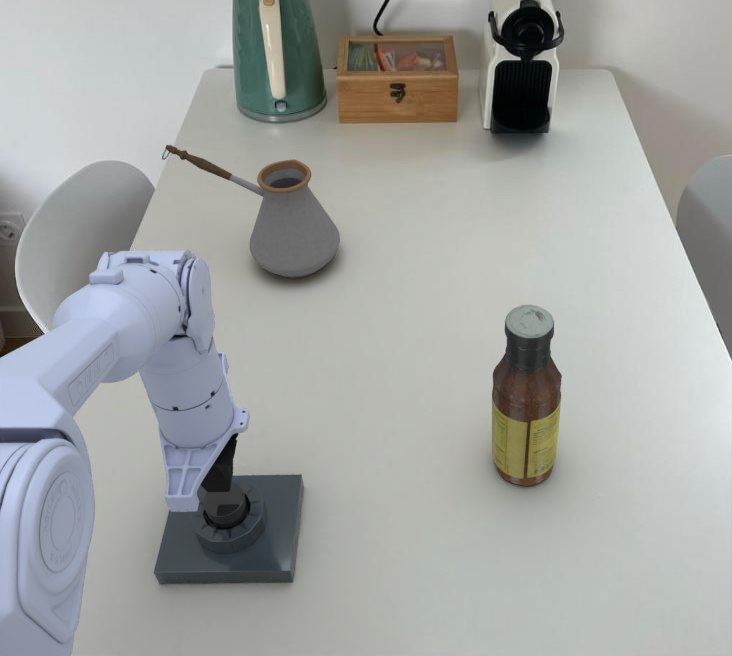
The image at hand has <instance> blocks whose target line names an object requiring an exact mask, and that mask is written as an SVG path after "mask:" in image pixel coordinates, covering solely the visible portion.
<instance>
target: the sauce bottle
mask: <svg viewBox="0 0 732 656" xmlns="http://www.w3.org/2000/svg"><path fill="white" fill-rule="evenodd" d="M504 335H505V337H506V347H505V353H504V354H503V356H502V358H501V359H500V361H499V362H498V364H497V365H496V366H495V367H494V369H493V372H492V391H491V457H492V459H493V460H492V461H493V463H494V466H495V469H496V471H497V472H498V474H499V475H500V476H501V477H502V478H503V480H505V481H507V482H510V483H512V484H516V485H520V486H523V487H524V486H526V487H529V486H534V485H537V484H539V483H541V482H543V481H545V480H546V479H547V478H549V476H550V475H551V474H552V471H553V468H554V465H555V461H556V459H557V450H558V440H559V439H558V437H559V429H560V419H561V418H560V417H561V405H562V392H561V390H562V389H561V388H562V378H563V376H562V375H563V374H562V373H561V372H560V371H559V369H558V366H557V365H556V363H555V361H554V359H553V358H552V351H551V343H552V339H553V338H554V337H555V336H554V335H555V320H554V317H553V315H552V313H550V312H549V311H548V310H547V309H545V308H543V307H541V306H538V305H534V304H522V305H519V306H516V307H514V308H512V309H511V310H510V311H509V312H508V313H507V314H506V315H505V320H504Z"/></svg>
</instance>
